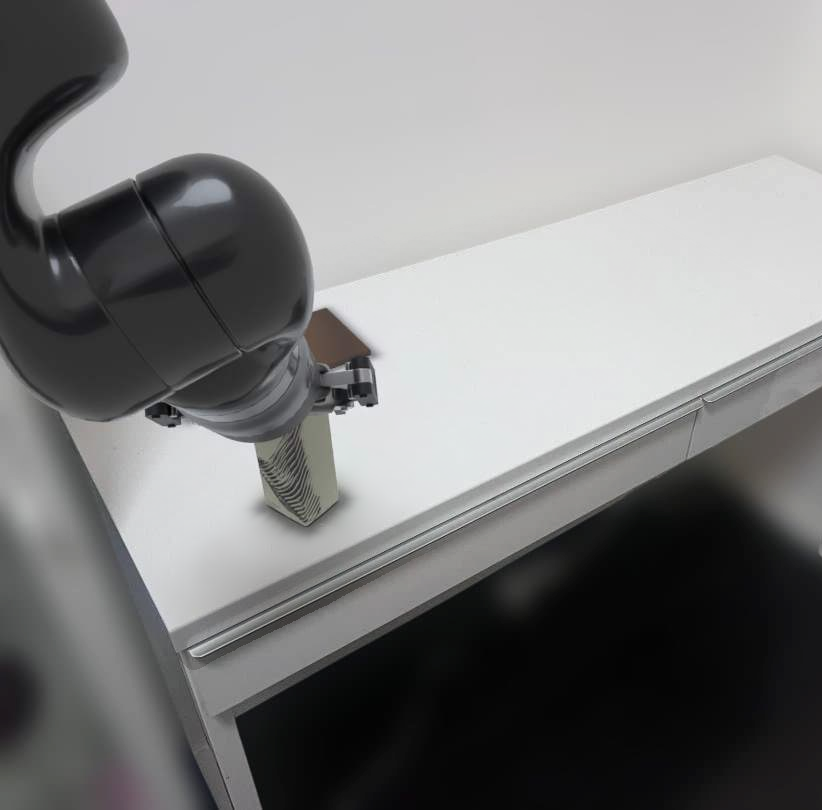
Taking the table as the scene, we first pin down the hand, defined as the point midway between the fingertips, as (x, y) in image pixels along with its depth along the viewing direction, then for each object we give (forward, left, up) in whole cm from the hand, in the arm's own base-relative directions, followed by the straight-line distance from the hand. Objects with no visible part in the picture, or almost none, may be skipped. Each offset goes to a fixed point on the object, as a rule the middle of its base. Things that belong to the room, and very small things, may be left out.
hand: (281, 407), depth 60 cm
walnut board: (+8, +26, -14) cm, 31 cm away
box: (+2, +3, -14) cm, 14 cm away
